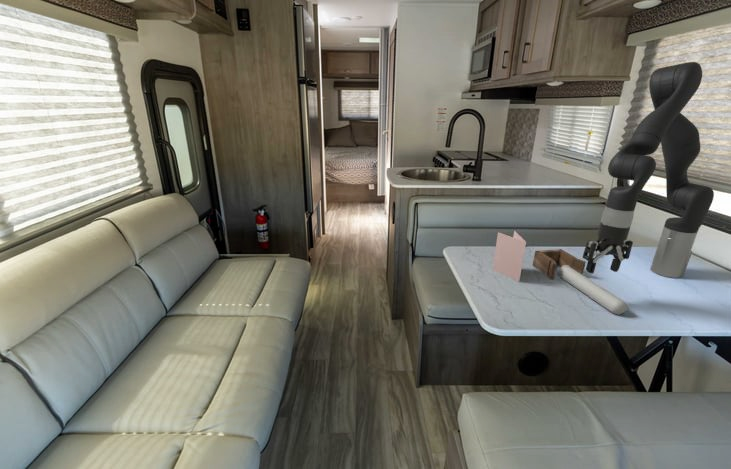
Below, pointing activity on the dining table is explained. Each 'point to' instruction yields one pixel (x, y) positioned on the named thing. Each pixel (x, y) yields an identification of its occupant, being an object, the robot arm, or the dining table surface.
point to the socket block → (556, 261)
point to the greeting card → (509, 255)
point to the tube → (593, 290)
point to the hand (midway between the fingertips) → (601, 271)
